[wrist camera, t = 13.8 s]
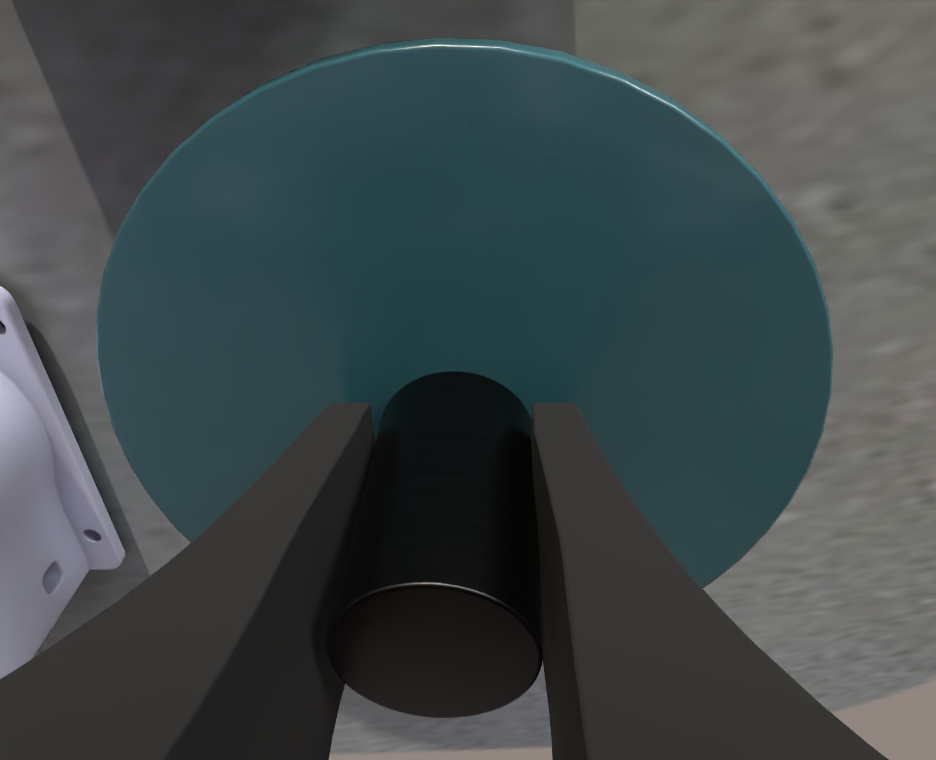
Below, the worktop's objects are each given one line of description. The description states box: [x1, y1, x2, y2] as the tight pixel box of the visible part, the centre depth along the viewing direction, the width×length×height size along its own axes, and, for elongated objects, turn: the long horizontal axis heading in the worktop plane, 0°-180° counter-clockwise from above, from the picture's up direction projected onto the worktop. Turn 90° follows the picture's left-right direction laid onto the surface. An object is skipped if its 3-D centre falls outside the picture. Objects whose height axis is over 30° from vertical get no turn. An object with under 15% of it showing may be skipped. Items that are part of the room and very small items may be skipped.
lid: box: [96, 38, 833, 718], centre depth 10 cm, size 11×11×5 cm
